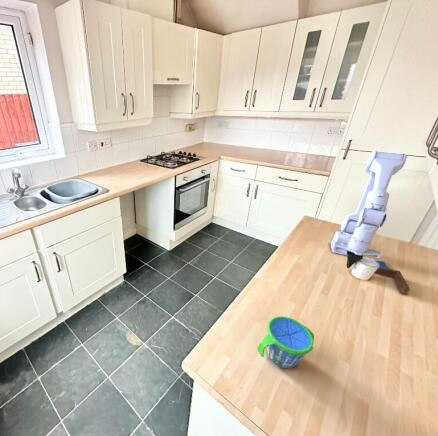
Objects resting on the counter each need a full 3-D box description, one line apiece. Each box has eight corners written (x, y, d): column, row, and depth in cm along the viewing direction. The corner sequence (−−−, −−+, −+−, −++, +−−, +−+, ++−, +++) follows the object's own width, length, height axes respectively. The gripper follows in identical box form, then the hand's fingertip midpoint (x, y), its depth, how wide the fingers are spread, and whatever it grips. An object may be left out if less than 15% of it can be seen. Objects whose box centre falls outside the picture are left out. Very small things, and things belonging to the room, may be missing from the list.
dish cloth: (366, 269, 99) (367, 267, 99) (360, 259, 105) (360, 257, 104) (390, 273, 97) (391, 271, 96) (383, 263, 102) (383, 261, 102)
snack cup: (264, 378, 63) (273, 355, 58) (245, 341, 72) (252, 318, 67) (320, 372, 64) (333, 348, 59) (295, 336, 73) (304, 313, 68)
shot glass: (363, 269, 99) (371, 256, 95) (375, 281, 93) (384, 267, 89) (345, 268, 99) (352, 255, 96) (356, 280, 93) (365, 266, 90)
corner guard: (378, 288, 90) (382, 282, 88) (371, 270, 98) (374, 265, 97) (405, 295, 87) (410, 289, 85) (396, 276, 95) (399, 270, 93)
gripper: (339, 238, 90) (327, 267, 97) (390, 249, 84) (373, 278, 91) (337, 230, 96) (325, 257, 102) (384, 239, 90) (368, 267, 96)
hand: (347, 266), depth 97 cm, fingers closed
